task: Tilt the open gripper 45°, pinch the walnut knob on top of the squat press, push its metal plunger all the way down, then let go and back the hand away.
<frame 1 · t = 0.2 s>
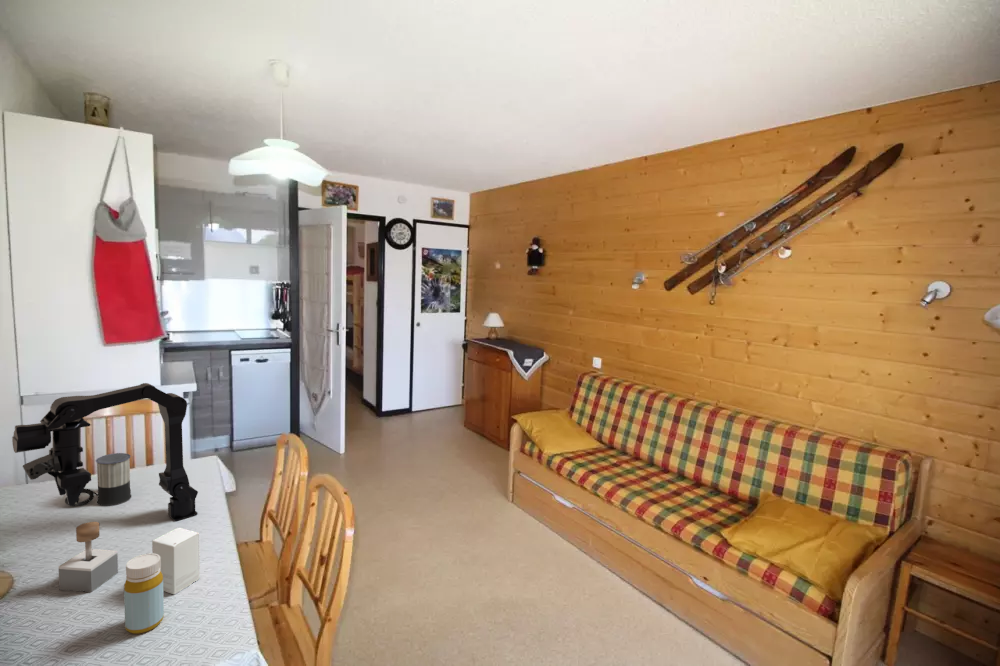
hand: (67, 500, 135), 14 cm above the table, tool pointing down, fingers open, 9 cm apart
supplement box: (176, 584, 125), on the table
plunger: (88, 543, 123), point 10 cm above the table, slide at 4.0 cm
milk frother: (99, 502, 164), on the table
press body: (89, 580, 124), on the table
bottle: (144, 625, 110), on the table
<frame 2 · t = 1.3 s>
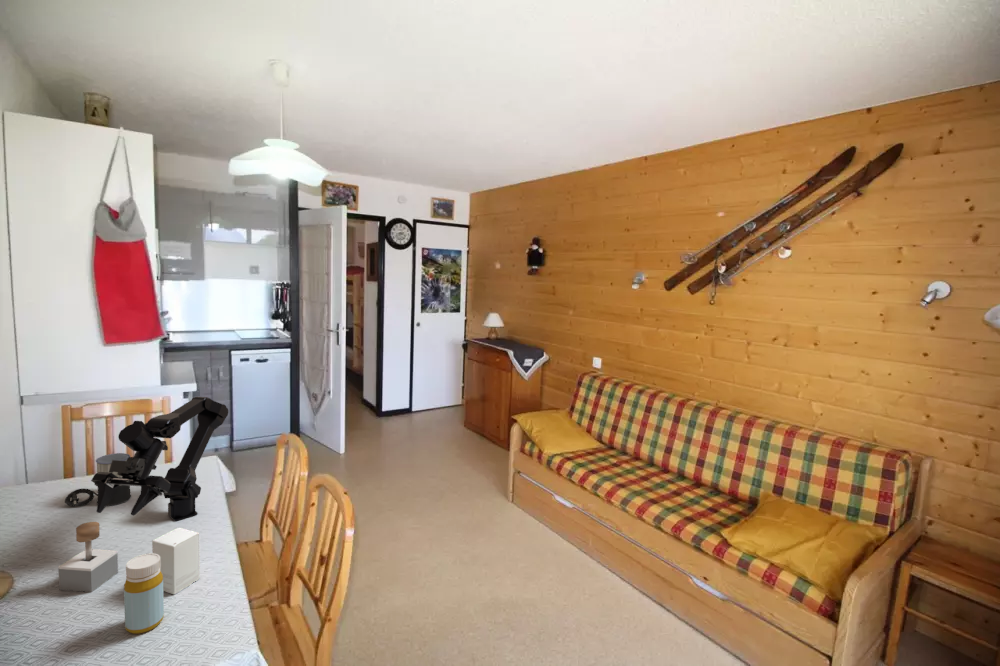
hand: (115, 513, 131), 13 cm above the table, tool tilted 45°, fingers open, 9 cm apart
nothing on the table moved.
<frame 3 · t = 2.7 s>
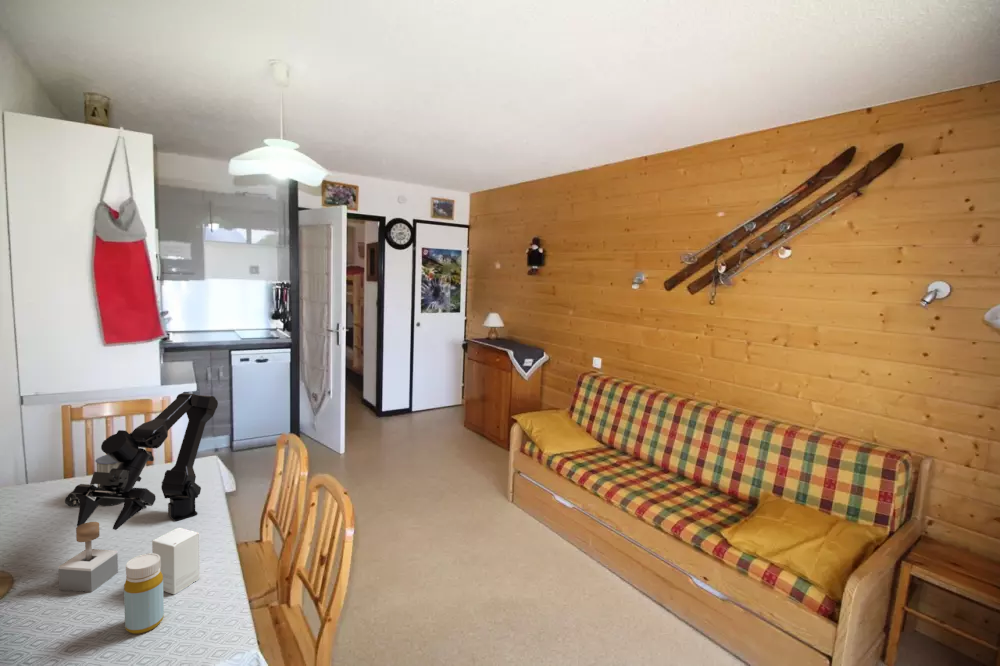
hand: (96, 528, 125), 13 cm above the table, tool tilted 45°, fingers open, 9 cm apart
nothing on the table moved.
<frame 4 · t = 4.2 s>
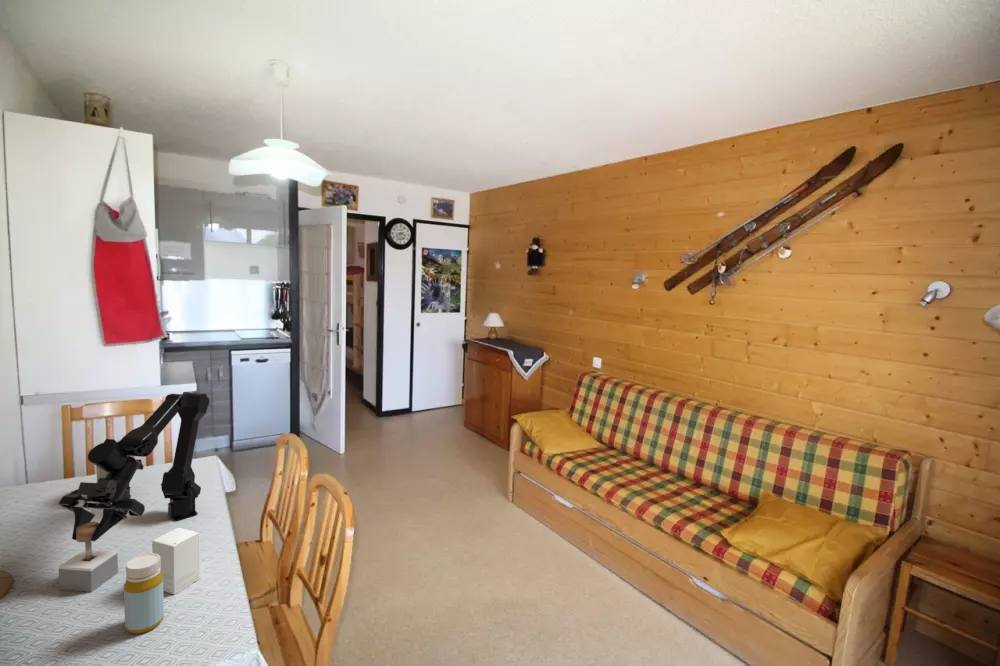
hand: (83, 540, 121), 12 cm above the table, tool tilted 45°, fingers closed on plunger, 4 cm apart
plunger: (88, 543, 123), point 10 cm above the table, slide at 4.0 cm, touching gripper
everything else where it was.
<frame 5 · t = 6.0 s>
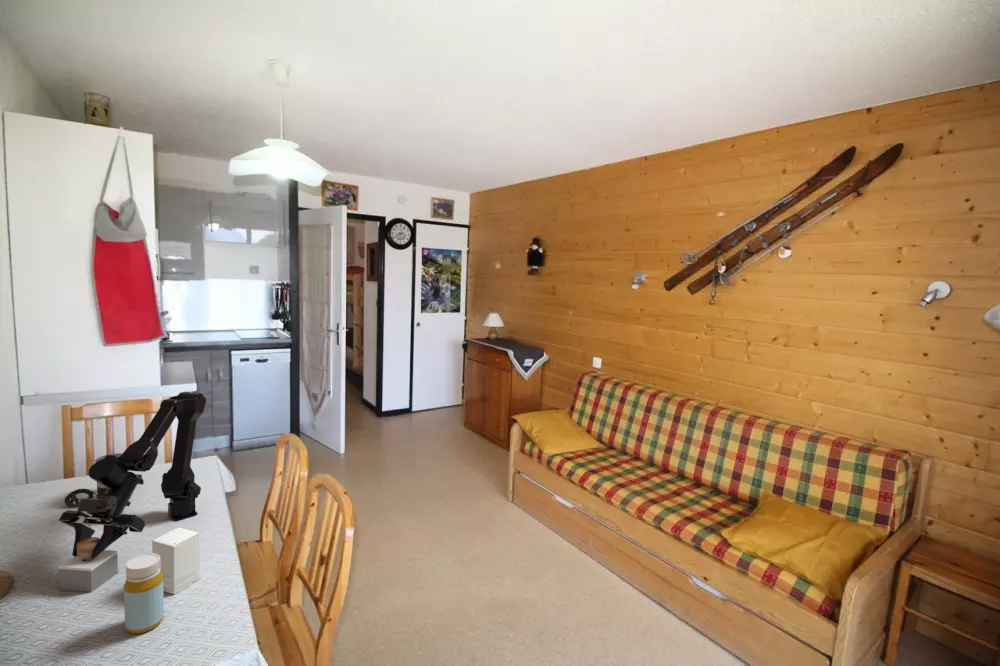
hand: (83, 556, 122), 7 cm above the table, tool tilted 45°, fingers closed on plunger, 4 cm apart
plunger: (88, 558, 123), point 6 cm above the table, slide at -0.1 cm, touching gripper
everything else where it was.
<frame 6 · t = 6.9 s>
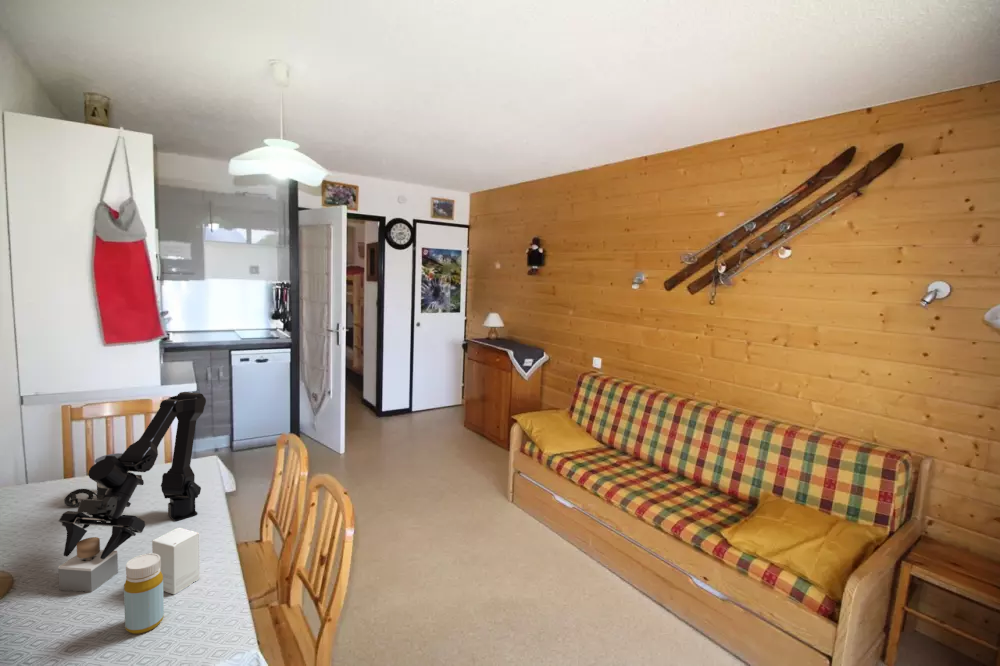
hand: (83, 557, 122), 7 cm above the table, tool tilted 45°, fingers open, 9 cm apart
plunger: (88, 558, 123), point 6 cm above the table, slide at -0.1 cm
everything else where it was.
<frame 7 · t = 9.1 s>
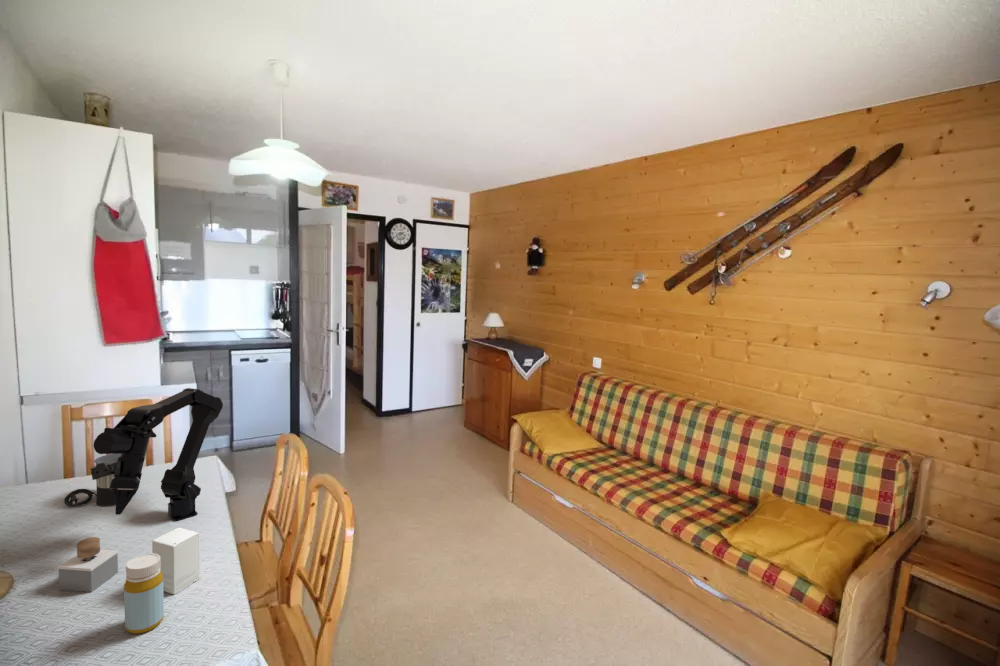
hand: (119, 511, 136), 12 cm above the table, tool tilted 20°, fingers open, 9 cm apart
nothing on the table moved.
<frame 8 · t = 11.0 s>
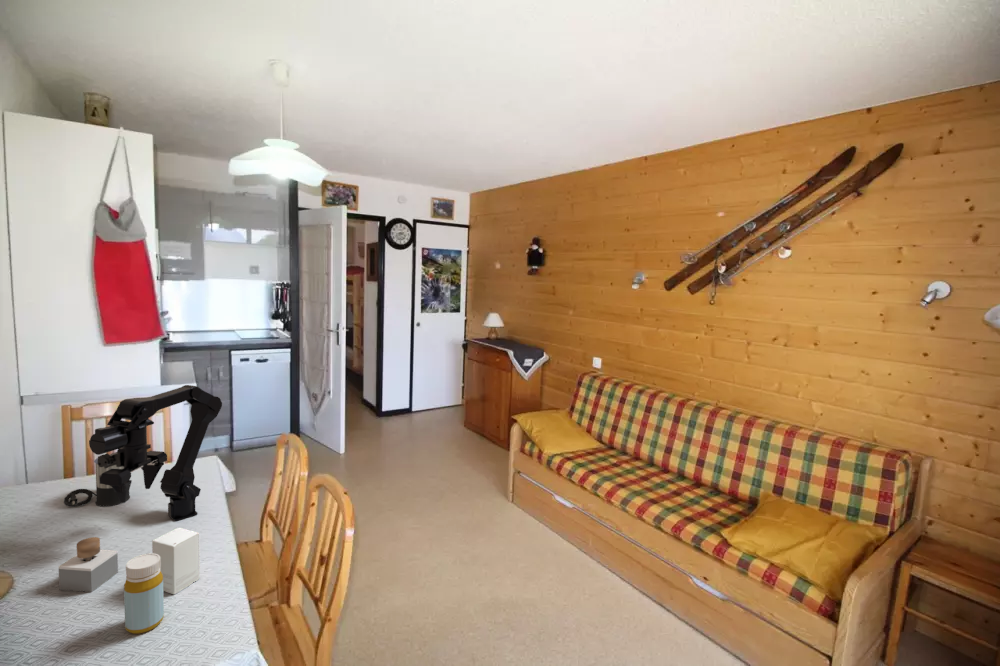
hand: (135, 495, 143), 13 cm above the table, tool pointing down, fingers open, 9 cm apart
nothing on the table moved.
at the end: plunger slide at -0.1 cm; the gripper is holding nothing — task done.
